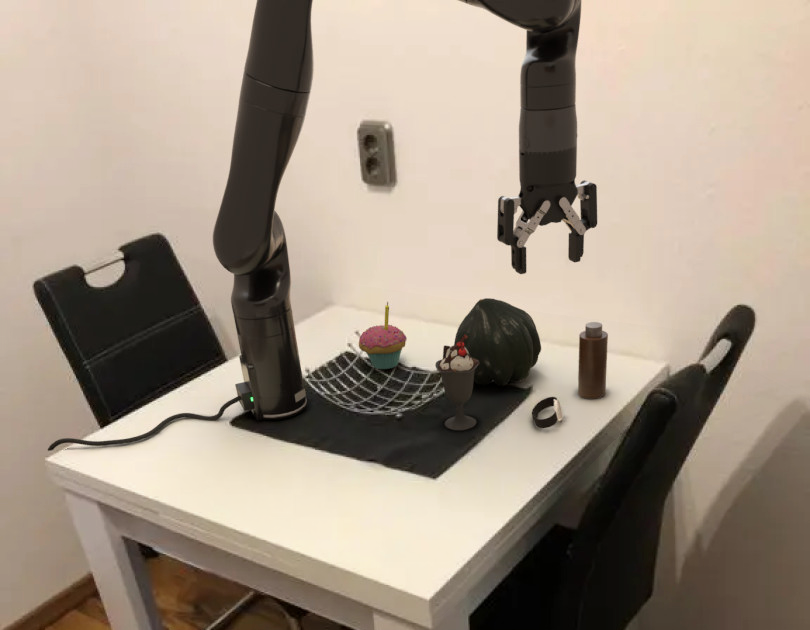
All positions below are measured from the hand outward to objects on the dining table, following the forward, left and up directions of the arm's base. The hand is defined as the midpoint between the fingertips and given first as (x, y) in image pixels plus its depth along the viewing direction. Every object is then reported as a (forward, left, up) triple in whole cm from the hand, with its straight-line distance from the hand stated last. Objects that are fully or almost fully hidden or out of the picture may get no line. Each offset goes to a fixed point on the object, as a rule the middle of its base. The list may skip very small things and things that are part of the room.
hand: (547, 266), depth 128 cm
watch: (0, 0, -24) cm, 24 cm away
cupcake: (-14, +35, -24) cm, 45 cm away
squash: (+1, +19, -24) cm, 31 cm away
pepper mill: (+11, +5, -24) cm, 27 cm away
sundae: (-12, +6, -24) cm, 28 cm away
